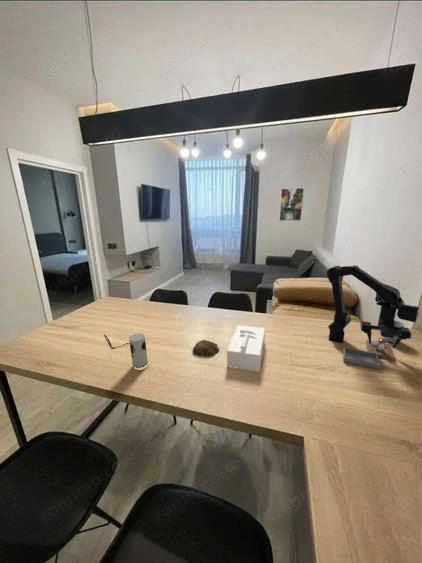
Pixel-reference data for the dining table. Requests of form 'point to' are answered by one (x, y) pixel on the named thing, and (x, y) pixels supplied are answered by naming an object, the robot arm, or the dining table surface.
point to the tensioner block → (387, 353)
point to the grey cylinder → (138, 350)
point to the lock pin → (381, 345)
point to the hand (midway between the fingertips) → (381, 345)
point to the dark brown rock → (205, 348)
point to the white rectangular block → (246, 348)
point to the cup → (397, 324)
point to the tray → (361, 358)
